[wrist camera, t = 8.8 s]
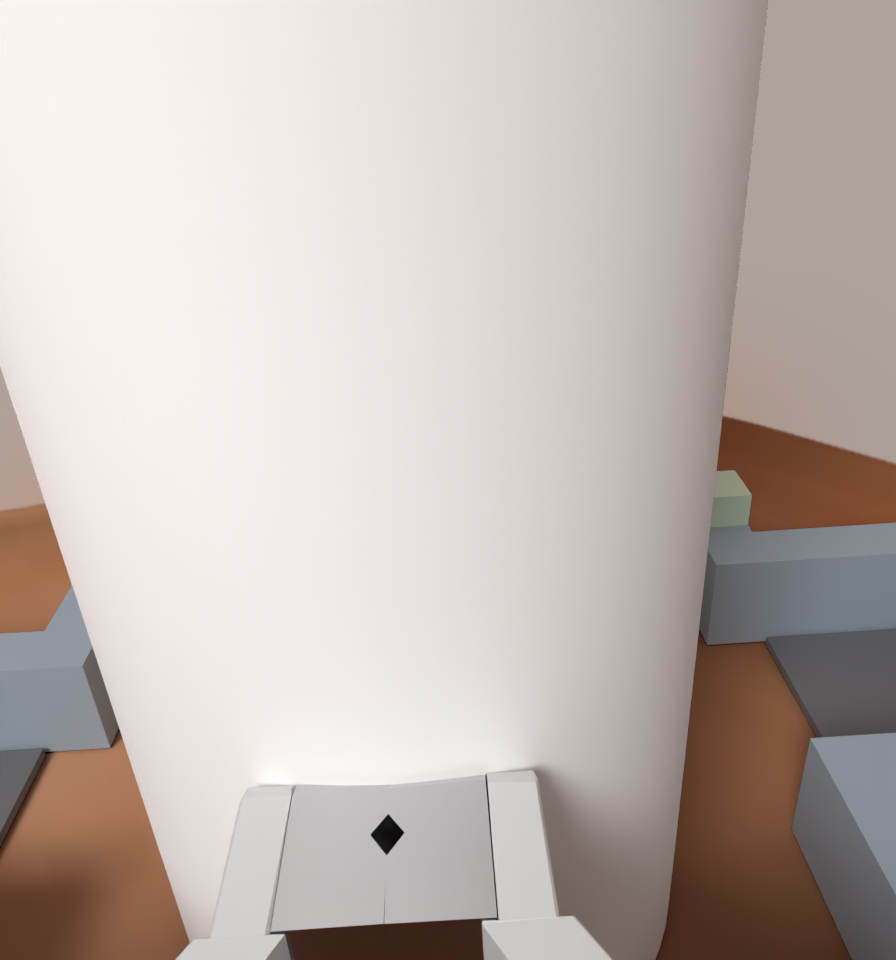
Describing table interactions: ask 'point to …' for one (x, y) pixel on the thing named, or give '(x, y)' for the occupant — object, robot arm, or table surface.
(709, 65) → the cup
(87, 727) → the box
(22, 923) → the table surface
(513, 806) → the robot arm
